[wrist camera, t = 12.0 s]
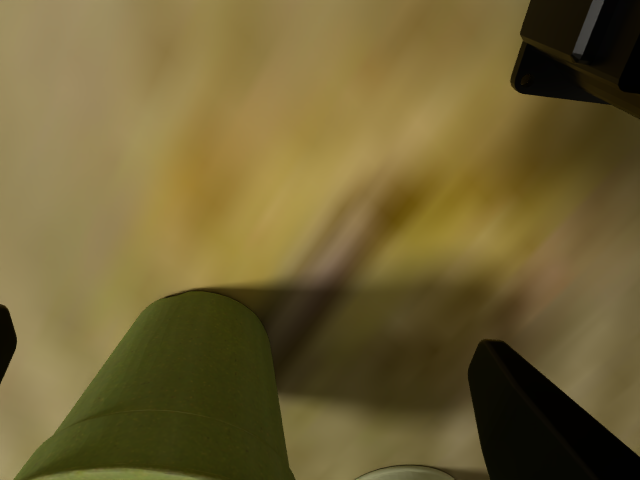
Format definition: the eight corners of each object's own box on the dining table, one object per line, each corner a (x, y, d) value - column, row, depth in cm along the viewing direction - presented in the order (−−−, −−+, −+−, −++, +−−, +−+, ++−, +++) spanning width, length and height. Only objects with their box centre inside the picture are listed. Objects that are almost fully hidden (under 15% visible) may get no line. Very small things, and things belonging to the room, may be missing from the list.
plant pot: (306, 414, 29) (308, 645, 19) (107, 407, 28) (7, 647, 18) (326, 254, 23) (343, 480, 13) (70, 239, 22) (-111, 470, 12)
